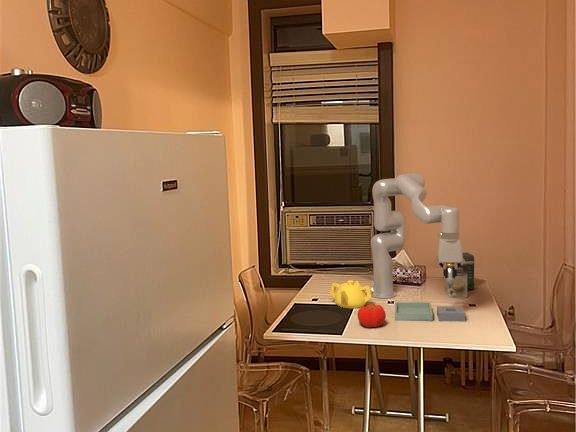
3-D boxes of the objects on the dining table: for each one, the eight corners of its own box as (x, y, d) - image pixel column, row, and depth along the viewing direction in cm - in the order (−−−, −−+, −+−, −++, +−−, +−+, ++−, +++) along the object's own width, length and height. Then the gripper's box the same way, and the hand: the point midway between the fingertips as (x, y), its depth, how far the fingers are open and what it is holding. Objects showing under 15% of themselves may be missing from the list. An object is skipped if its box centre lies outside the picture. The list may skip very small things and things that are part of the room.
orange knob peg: (445, 287, 262) (445, 263, 261) (444, 284, 267) (444, 261, 265) (455, 287, 261) (455, 263, 260) (454, 284, 266) (454, 261, 264)
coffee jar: (475, 290, 310) (475, 254, 308) (460, 290, 311) (459, 255, 308) (471, 285, 319) (471, 251, 317) (456, 286, 320) (456, 251, 318)
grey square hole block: (438, 321, 261) (438, 313, 261) (437, 313, 272) (436, 306, 271) (465, 321, 259) (464, 313, 259) (462, 314, 270) (462, 306, 269)
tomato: (366, 319, 268) (366, 300, 267) (391, 323, 260) (391, 304, 259) (350, 326, 258) (350, 307, 257) (375, 331, 250) (375, 311, 249)
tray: (394, 320, 264) (394, 313, 264) (395, 308, 283) (395, 302, 283) (432, 321, 262) (432, 314, 261) (430, 308, 280) (430, 302, 280)
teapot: (328, 302, 298) (327, 278, 296) (359, 298, 303) (359, 275, 301) (342, 311, 282) (341, 286, 280) (374, 307, 287) (374, 282, 285)
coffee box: (448, 297, 298) (448, 265, 296) (446, 294, 304) (446, 263, 302) (467, 297, 297) (467, 265, 295) (465, 294, 303) (465, 262, 301)
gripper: (431, 237, 259) (431, 279, 261) (470, 237, 256) (470, 280, 258) (430, 234, 266) (430, 275, 269) (468, 234, 263) (468, 276, 266)
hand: (450, 277), depth 263 cm, fingers closed on orange knob peg, 2 cm apart
